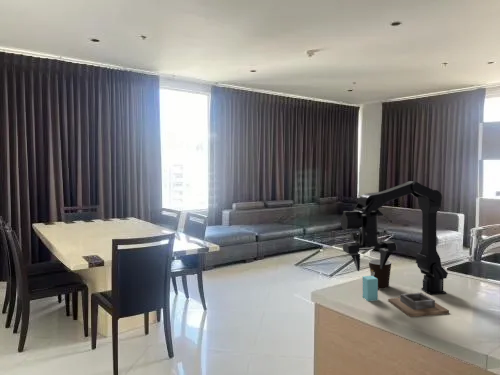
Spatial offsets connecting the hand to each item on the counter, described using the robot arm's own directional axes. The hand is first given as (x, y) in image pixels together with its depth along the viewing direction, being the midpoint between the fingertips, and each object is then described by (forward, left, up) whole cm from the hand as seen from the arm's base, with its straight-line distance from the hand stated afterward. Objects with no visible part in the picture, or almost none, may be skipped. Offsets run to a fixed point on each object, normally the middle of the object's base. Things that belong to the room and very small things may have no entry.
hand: (369, 269), depth 139 cm
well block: (-12, +11, -11) cm, 20 cm away
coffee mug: (-11, -14, -11) cm, 21 cm away
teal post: (0, 0, -11) cm, 11 cm away
